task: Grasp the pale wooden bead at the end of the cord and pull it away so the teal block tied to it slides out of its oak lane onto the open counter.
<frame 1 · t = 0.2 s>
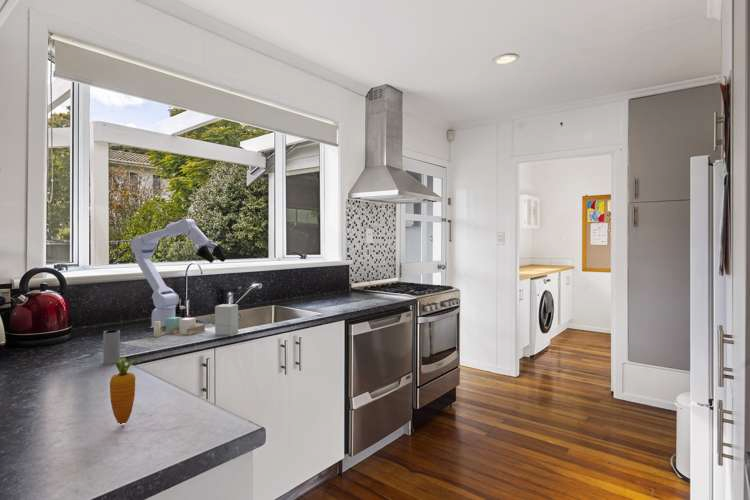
hand: (218, 260, 183), 31 cm above the countertop, tool tilted 45°, fingers open, 7 cm apart
plain block: (187, 332, 179), point 1 cm above the countertop, touching lane shelf
lane shelf: (181, 333, 181), on the countertop
carrot: (122, 427, 91), on the countertop
supplement box: (226, 335, 180), on the countertop
planter: (111, 363, 137), on the countertop
strung block: (173, 331, 181), point 1 cm above the countertop, touching lane shelf
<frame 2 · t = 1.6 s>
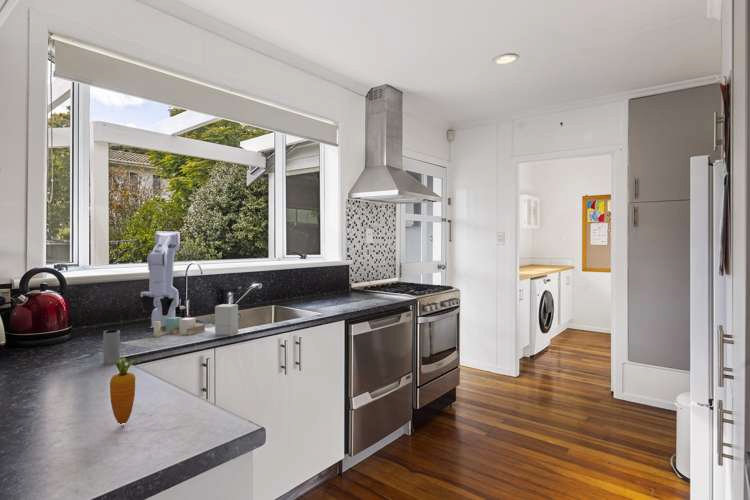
hand: (157, 314, 172), 9 cm above the countertop, tool pointing down, fingers open, 7 cm apart
nothing on the countertop moved.
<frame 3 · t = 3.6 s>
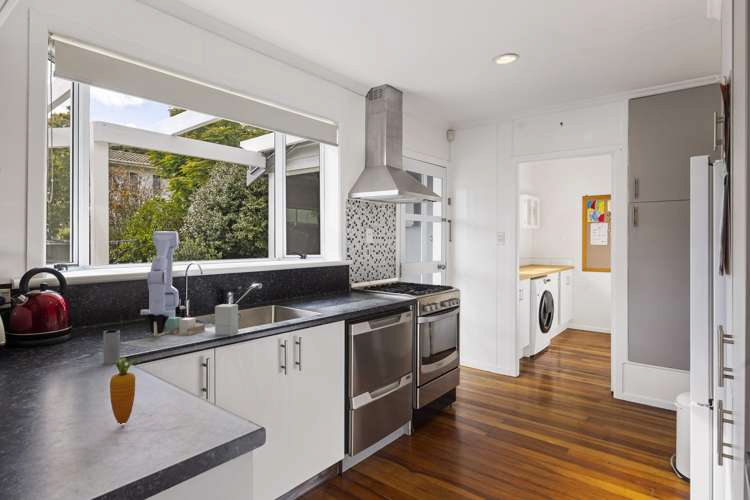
hand: (157, 333, 172), 2 cm above the countertop, tool pointing down, fingers closed on strung block, 2 cm apart
strung block: (173, 331, 181), point 1 cm above the countertop, touching gripper, lane shelf
everything else where it was.
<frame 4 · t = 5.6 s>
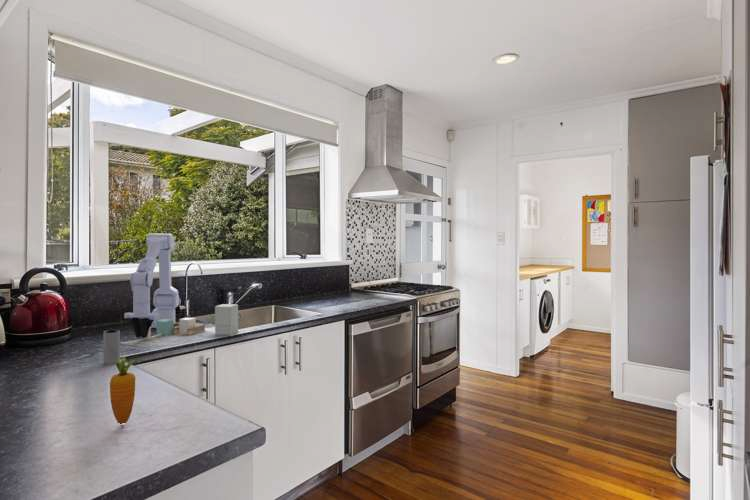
hand: (141, 337, 164), 2 cm above the countertop, tool pointing down
strung block: (165, 334, 176), point 1 cm above the countertop, touching gripper, lane shelf
everything else where it was.
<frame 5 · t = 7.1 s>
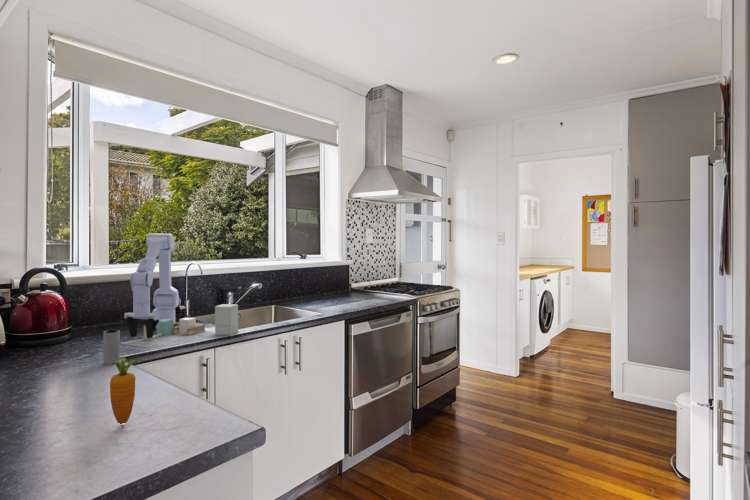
hand: (141, 337, 164), 2 cm above the countertop, tool pointing down, fingers open, 7 cm apart
strung block: (165, 334, 176), point 1 cm above the countertop, touching lane shelf
everything else where it was.
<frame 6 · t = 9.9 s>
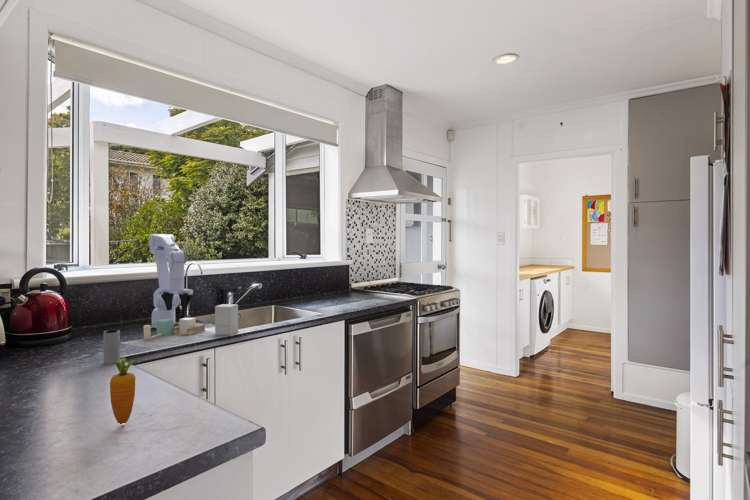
hand: (176, 310, 180), 10 cm above the countertop, tool pointing down, fingers open, 7 cm apart
nothing on the countertop moved.
at the end: strung block inside the target area (6.2 cm from its centre), point 0.5 cm above the countertop; strung block moved 5.1 cm from its start; the gripper is holding nothing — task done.
